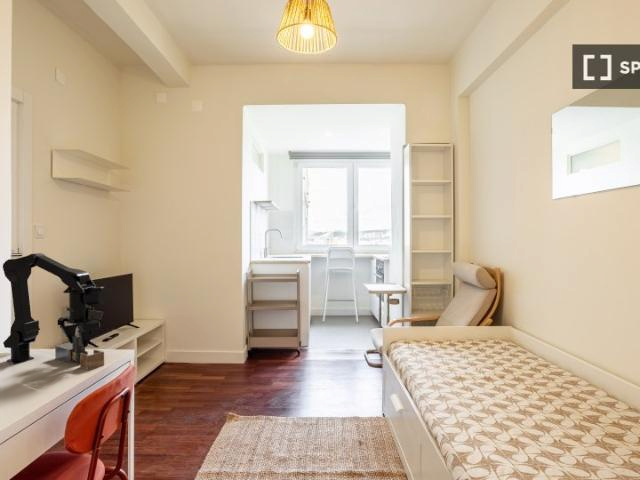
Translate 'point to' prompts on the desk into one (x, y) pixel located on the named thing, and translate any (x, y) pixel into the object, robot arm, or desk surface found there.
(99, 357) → the socket
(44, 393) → the desk surface
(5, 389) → the desk surface
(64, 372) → the desk surface
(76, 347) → the slider
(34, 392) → the desk surface
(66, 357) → the sleeve
